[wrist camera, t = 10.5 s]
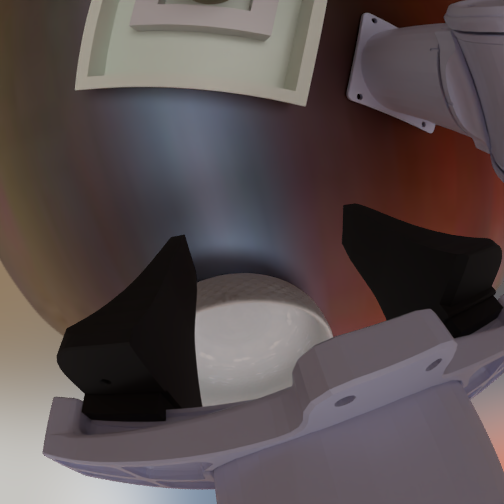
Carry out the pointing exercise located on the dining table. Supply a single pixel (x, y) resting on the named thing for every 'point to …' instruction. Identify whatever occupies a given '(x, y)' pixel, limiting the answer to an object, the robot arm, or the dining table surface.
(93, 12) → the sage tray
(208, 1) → the birch peg
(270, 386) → the cereal bowl
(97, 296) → the dining table surface
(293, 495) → the robot arm
